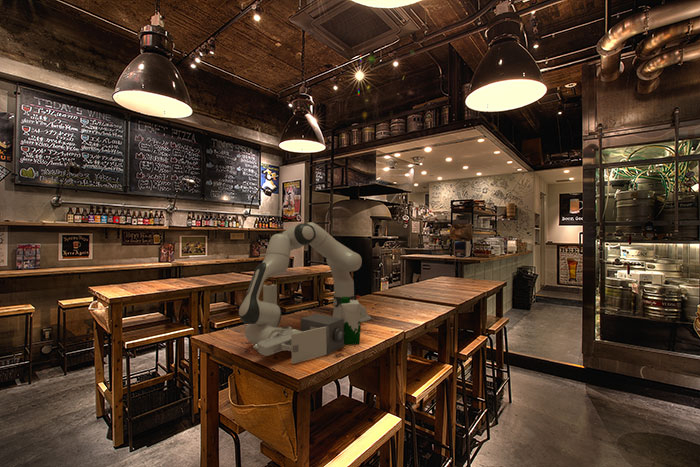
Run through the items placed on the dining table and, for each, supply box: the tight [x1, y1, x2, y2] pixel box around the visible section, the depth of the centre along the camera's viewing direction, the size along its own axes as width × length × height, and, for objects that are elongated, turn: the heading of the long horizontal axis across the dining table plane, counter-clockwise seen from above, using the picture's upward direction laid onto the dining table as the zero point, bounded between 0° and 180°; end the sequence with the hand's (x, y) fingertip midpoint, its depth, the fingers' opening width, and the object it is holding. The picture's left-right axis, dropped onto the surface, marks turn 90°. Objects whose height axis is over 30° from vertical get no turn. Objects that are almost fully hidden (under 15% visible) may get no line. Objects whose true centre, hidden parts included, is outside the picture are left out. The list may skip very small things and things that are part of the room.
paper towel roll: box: [262, 283, 278, 305], centre depth 169 cm, size 7×6×21 cm
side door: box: [290, 326, 330, 365], centre depth 121 cm, size 16×1×11 cm, turn 125°
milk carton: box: [340, 297, 362, 346], centre depth 140 cm, size 9×9×20 cm
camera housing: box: [300, 313, 345, 355], centre depth 134 cm, size 18×10×12 cm, turn 52°
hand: (295, 347), depth 118 cm, fingers closed
